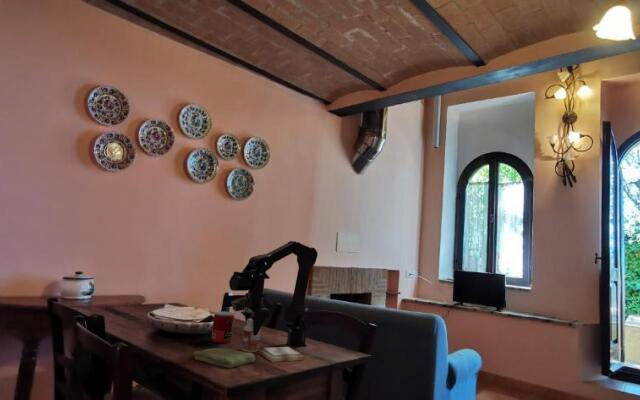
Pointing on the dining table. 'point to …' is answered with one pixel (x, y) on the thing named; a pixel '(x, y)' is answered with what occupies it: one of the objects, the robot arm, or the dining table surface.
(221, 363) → the washcloth
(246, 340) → the pill bottle
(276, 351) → the stand
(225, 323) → the canned food
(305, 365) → the dining table surface
